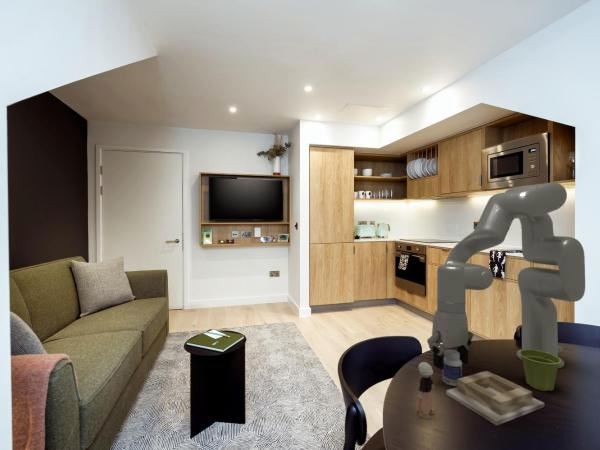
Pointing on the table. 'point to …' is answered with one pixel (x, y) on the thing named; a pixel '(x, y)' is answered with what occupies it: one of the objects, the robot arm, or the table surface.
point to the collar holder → (494, 397)
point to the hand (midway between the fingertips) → (450, 364)
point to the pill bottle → (452, 367)
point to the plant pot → (540, 368)
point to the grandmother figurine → (425, 391)
